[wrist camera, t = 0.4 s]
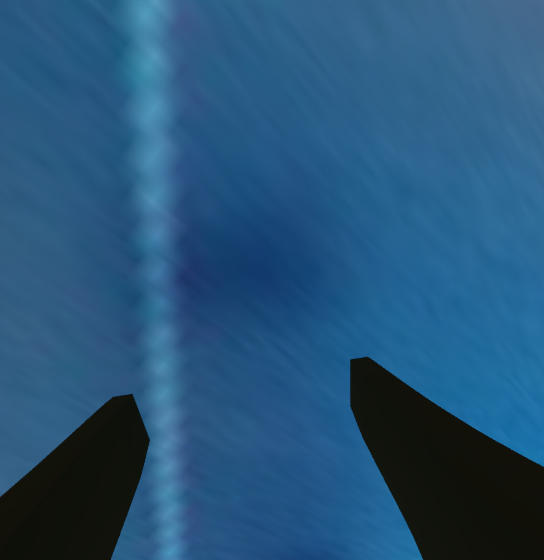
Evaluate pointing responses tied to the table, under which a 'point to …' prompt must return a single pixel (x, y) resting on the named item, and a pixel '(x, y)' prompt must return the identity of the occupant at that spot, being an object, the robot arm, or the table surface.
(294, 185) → the table surface
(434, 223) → the table surface
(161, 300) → the table surface
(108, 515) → the robot arm
